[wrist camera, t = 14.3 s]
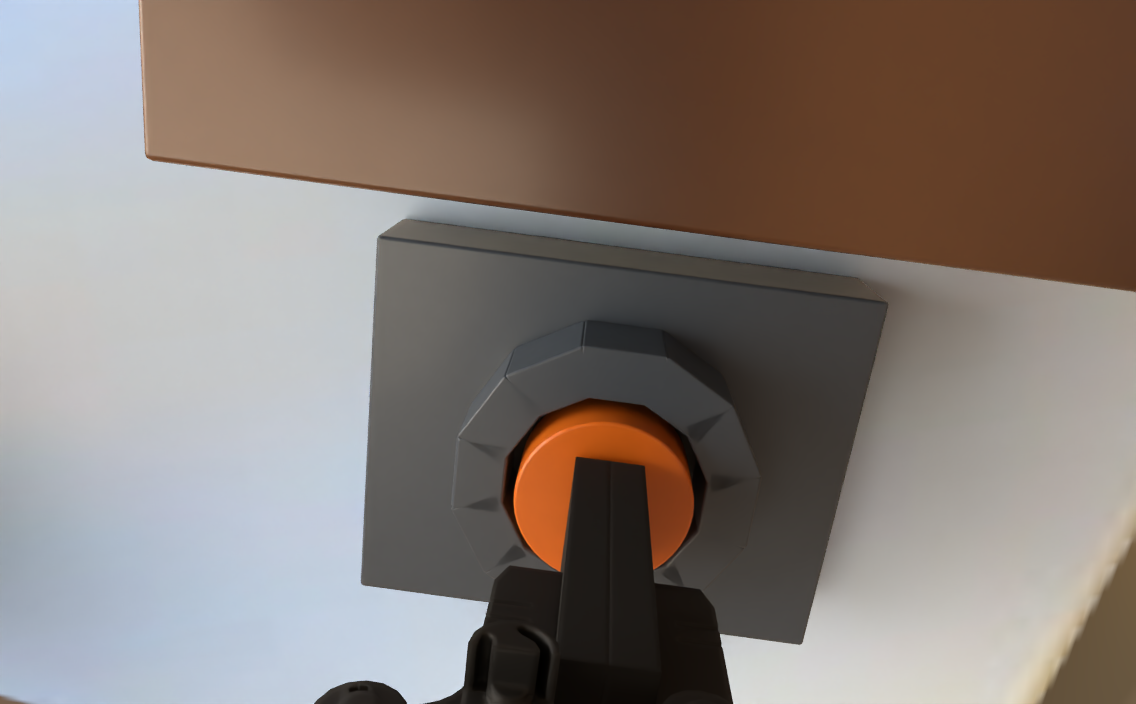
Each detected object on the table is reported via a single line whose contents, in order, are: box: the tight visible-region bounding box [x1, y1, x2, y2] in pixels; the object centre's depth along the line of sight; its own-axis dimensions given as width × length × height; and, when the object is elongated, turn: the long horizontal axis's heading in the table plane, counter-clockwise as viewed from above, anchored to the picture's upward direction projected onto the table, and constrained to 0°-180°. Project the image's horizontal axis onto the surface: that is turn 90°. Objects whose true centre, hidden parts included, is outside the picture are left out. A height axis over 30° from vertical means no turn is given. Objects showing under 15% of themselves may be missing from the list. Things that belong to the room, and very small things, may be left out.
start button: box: [513, 398, 694, 572], centre depth 19 cm, size 4×4×2 cm
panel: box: [361, 219, 888, 645], centre depth 21 cm, size 10×12×4 cm
